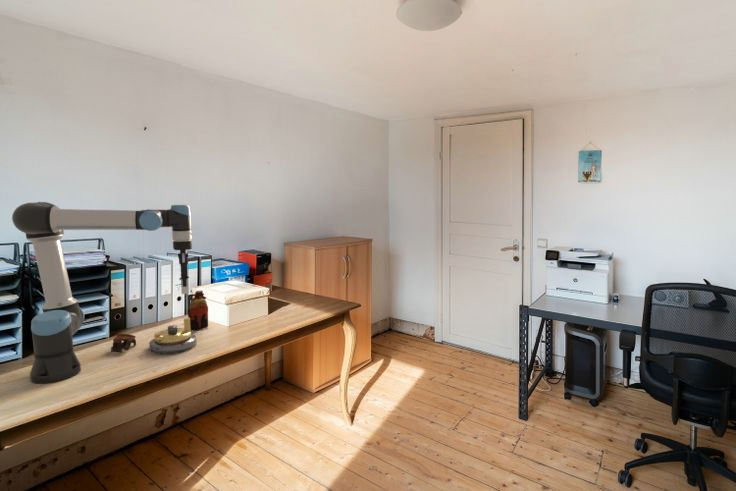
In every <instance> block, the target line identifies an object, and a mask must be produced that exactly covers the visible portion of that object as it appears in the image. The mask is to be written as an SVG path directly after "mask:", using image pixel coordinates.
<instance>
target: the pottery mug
mask: <svg viewBox="0 0 736 491" xmlns="http://www.w3.org/2000/svg"><path fill="white" fill-rule="evenodd" d="M136 340H137V339H136V335H133V334H130V333H117V334H116V336H115V337H114V338H113V340H112V346H111V347H110V352H111V353H118V354H122V353H123V350H124V351H129V350H130V348H131V345H132V344H133V347H135V346H137V341H136Z"/></svg>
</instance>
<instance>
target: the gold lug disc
mask: <svg viewBox="0 0 736 491" xmlns="http://www.w3.org/2000/svg"><path fill="white" fill-rule="evenodd" d="M191 334H192V331H191V328H190V318H188V317H183V327H178V333H176V334H168V328H166V329H163V330H160V331H158V332H154V335H153V336H154V337H153V339H154V342H155V343H156V344H158V345H174V344H179V343H183V342H186V341H188V340H189V339H191Z"/></svg>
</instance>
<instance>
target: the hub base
mask: <svg viewBox="0 0 736 491" xmlns="http://www.w3.org/2000/svg"><path fill="white" fill-rule="evenodd" d="M178 328H179V327H178V325H175V324H173V325H169V326H167V329H168V334H176V333H178ZM196 345H197V336H196V334H195V333H191V339H189V340H188V341H186V342H183V343H179V344H174V345H158V344H156V343H155V342H154V338H152V339H151V340H150V341H149V351H150V352H151V353H152V354H155V355H174V354H175V355H176V354H178V353H179V354H180V353H182V352H186V351H189V350H191V349H193V348H195V347H196Z"/></svg>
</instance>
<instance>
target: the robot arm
mask: <svg viewBox="0 0 736 491" xmlns="http://www.w3.org/2000/svg"><path fill="white" fill-rule="evenodd" d="M11 219H12V220H11V221H12V223H13V225H14V227H15V228H16V229H17V230H19V231H20V232H22V233H25V237H26V238H25V239H26V240H28V241H29V242H31V243H32V246H33V251H34V255H35V258H36V264H37V268H38V274H39V277H40V282H41V286H42V291H43V296H44V300H45V303H44V304H43V305H42V306H41V309H42V313H38V314H37V315H35V316H33V318H32V320H31V322H30V324H31V325H30V330H31V337H32V345H33V346H32V347H33V355H34V360H33V363H32V367H31V371H30V373H29V378H30V382H31V383H35V384H48V383H49V384H50V383H55V382H60V381H64V380H67V379H70V378H72V377H74V376H76V375H78V374H79V373H80V372H81V370H82V368H81V363H80V361H79V359H78V357H77V355H76V353H75V350H74V340H73V336H74V334H76V333H77V332H78V331H79V330H80V329H81V328H82V326H83V325H84V322H85V321H84V320H85V312H84V310H83V309H82V308H81V307H80V306H79V305H80V304H79V301H78V299H77V298H74V296H73V293H72V290H71V286H70V285H71V284H70V280H69V274H68V270H67V265H66V261H65V256H64V251H63V246H62V245H63V244H62V242H61V239H62V238H63V237H64V236H65V231H68V230H69V231H73V230H74V231H75V230H76V231H81V230H82V231H85V230H86V231H96V230H97V231H99V230H100V231H102V230H103V231H110V230H112V231H113V230H115V231H117V230H119V231H120V230H123V231H136V230H138V231H149V232H151V231H157V230H158V229H160V228H171V236H172V237H171V238H172V240H173V241H172V249H173V250H174V251H179V253H177V255H178V256H177V257H178V264H179V266H180V277H179V280H180V285H181V287H180V288H181V295H185V294H187V295H188V294H189V278H190V276H188V263H189V260H188V259H189V253H188V252H187V251H189V250H192V249H193V241H192V235H193V234H194V233H193V231H192V220H191V219H192V217H191V207H190V206H189V205H188V204H172V205H171V206H170V209H149V208H148V209H141V210H123V209H119V210H117V209H113V210H112V209H71V208H70V209H67V208H66V209H64V208H63V209H62V208H61V209H60V208H59V206H58V205H55V204H54V203H50V202H48V201H37V202H27V203H23V204H20V205H19V206H17V207H16V208H15V209H14V211H13V213H12V218H11Z"/></svg>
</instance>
